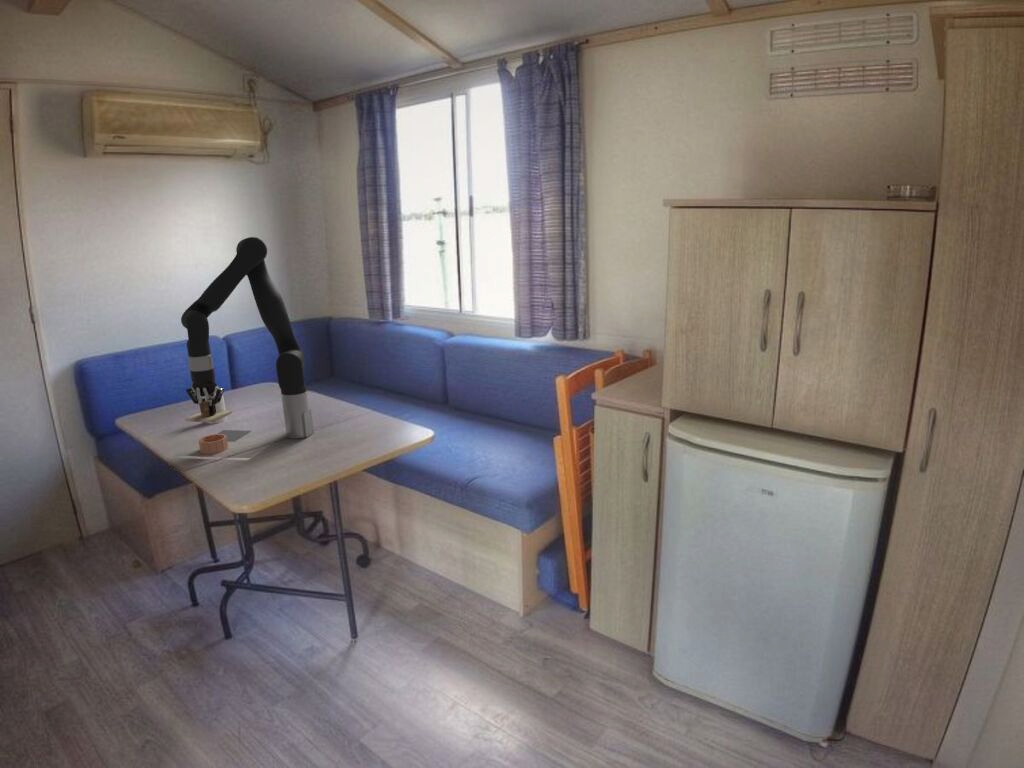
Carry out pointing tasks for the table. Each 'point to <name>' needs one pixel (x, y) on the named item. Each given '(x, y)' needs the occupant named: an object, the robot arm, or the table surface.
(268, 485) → the table surface
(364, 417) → the table surface
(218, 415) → the lid
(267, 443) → the table surface
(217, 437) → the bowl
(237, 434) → the mat
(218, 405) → the pill bottle
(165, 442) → the table surface
